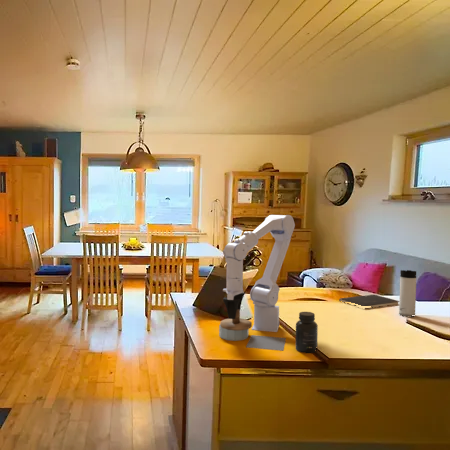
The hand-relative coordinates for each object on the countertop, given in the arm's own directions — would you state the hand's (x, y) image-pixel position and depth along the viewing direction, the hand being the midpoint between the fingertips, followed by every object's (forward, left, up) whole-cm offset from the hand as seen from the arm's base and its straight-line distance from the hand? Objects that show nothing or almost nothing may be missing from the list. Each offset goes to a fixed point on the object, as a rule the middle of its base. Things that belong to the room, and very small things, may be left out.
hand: (234, 315), depth 132 cm
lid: (-1, 0, -3) cm, 3 cm away
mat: (-12, +4, -7) cm, 15 cm away
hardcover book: (-54, -65, -8) cm, 85 cm away
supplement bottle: (-25, +7, -8) cm, 27 cm away
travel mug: (-67, -46, -8) cm, 82 cm away
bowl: (0, 0, -7) cm, 7 cm away
